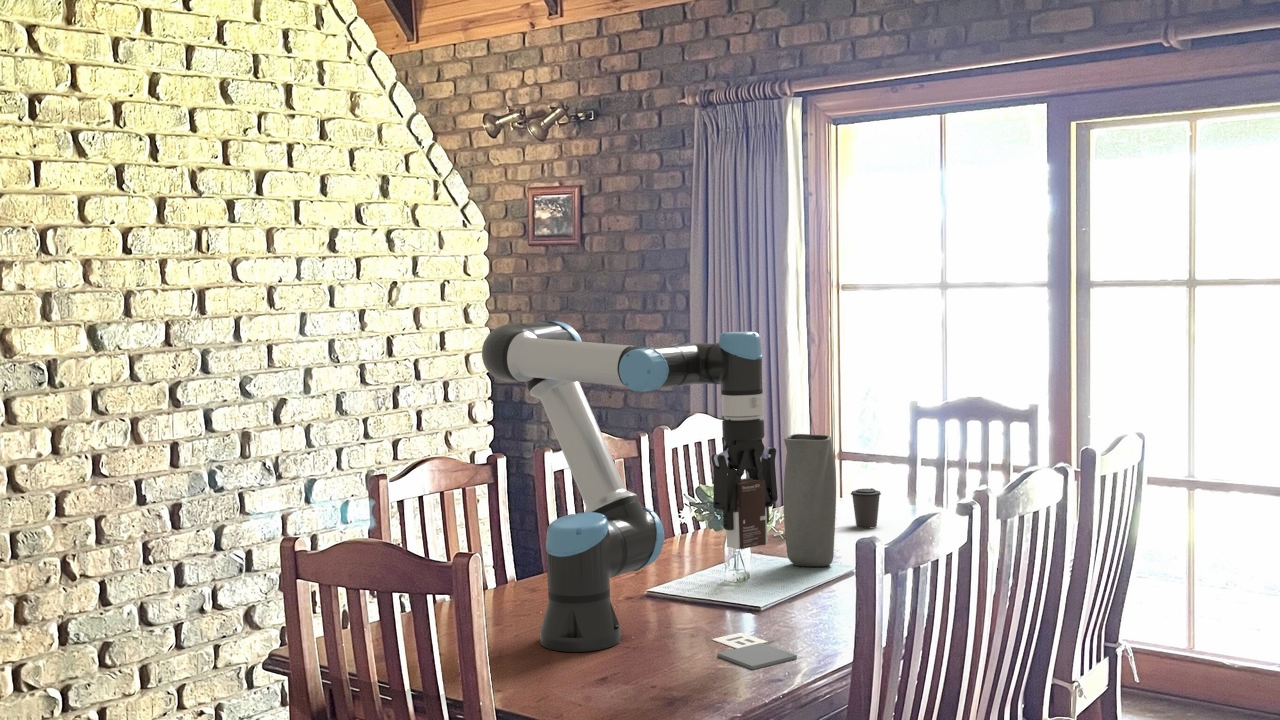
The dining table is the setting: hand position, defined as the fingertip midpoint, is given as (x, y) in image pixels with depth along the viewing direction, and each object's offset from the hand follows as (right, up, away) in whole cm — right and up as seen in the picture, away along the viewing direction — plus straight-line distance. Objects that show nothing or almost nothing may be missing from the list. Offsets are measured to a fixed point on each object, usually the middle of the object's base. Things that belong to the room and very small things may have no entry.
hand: (747, 544), depth 233 cm
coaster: (+1, -19, -4) cm, 20 cm away
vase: (+20, -14, +68) cm, 72 cm away
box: (0, 0, 0) cm, 0 cm away
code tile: (-1, -19, +6) cm, 20 cm away
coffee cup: (+41, -11, +110) cm, 118 cm away
